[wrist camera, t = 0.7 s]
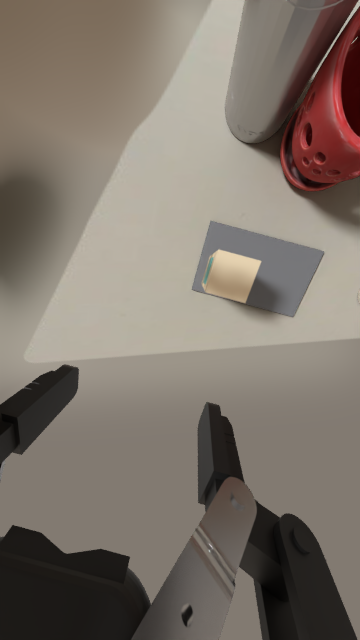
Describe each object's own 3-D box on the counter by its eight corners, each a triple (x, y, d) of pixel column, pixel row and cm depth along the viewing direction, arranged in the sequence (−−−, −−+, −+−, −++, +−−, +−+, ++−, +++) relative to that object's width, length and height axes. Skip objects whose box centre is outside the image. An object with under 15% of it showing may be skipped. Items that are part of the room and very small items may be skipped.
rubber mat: (210, 221, 30) (210, 220, 29) (322, 251, 30) (324, 251, 29) (191, 289, 33) (191, 289, 33) (291, 316, 33) (292, 317, 33)
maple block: (208, 256, 31) (217, 248, 19) (236, 263, 31) (261, 260, 19) (200, 283, 32) (204, 292, 21) (227, 290, 32) (245, 303, 21)
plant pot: (269, 206, 28) (320, 163, 17) (277, 101, 25) (348, -44, 13) (355, 197, 27) (474, 145, 16) (377, 85, 23) (553, -90, 12)
